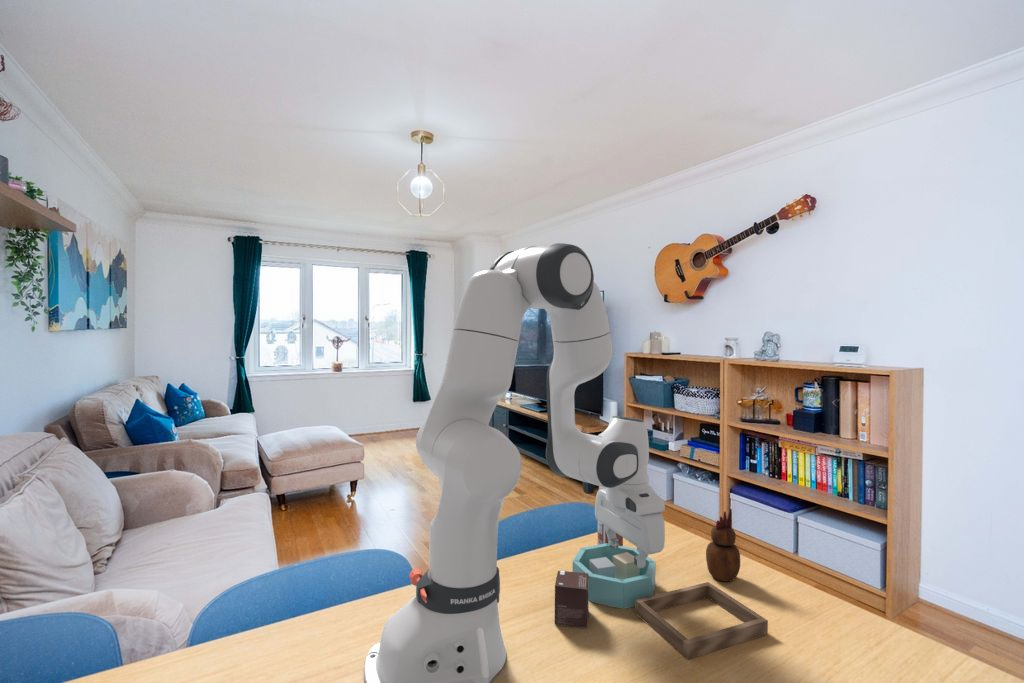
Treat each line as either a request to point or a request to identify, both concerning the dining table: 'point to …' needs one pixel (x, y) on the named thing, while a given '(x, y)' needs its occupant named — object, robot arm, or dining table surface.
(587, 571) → the bowl
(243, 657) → the dining table surface
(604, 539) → the pill bottle
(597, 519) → the robot arm
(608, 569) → the pale grey cube
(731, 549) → the wooden figurine
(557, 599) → the box
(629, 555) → the beige matte cube
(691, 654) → the frame
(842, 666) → the dining table surface
